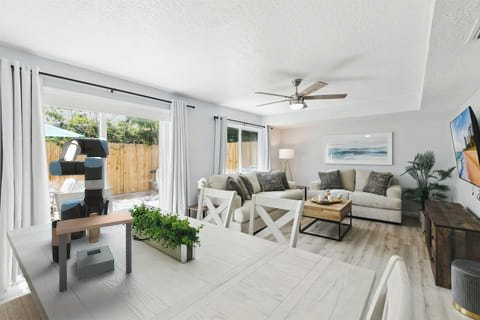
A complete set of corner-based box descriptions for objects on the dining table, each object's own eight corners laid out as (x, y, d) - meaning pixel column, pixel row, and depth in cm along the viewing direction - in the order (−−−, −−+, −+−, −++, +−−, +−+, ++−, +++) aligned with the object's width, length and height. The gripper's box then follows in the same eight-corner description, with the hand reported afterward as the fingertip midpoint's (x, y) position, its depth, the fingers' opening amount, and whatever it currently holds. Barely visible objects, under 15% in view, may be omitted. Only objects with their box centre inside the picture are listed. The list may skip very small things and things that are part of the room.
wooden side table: (57, 276, 99) (57, 221, 99) (127, 259, 116) (127, 211, 116) (56, 293, 88) (55, 230, 87) (133, 271, 105) (133, 218, 104)
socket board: (76, 261, 114) (76, 251, 113) (108, 254, 122) (108, 245, 122) (78, 279, 98) (77, 268, 98) (114, 269, 106) (114, 259, 106)
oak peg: (88, 241, 113) (88, 213, 113) (98, 239, 115) (98, 212, 115) (89, 243, 110) (89, 215, 109) (99, 242, 112) (98, 214, 112)
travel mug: (60, 263, 111) (59, 223, 110) (47, 262, 112) (47, 222, 112) (74, 256, 118) (74, 219, 118) (62, 255, 120) (62, 218, 119)
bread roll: (131, 236, 148) (132, 228, 148) (148, 235, 155) (149, 227, 155) (135, 242, 139) (136, 234, 139) (153, 240, 146) (154, 233, 146)
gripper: (72, 190, 104) (72, 240, 104) (114, 187, 114) (114, 233, 115) (72, 188, 110) (72, 236, 110) (111, 185, 120) (112, 229, 121)
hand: (93, 234), depth 113 cm, fingers closed on oak peg, 4 cm apart
